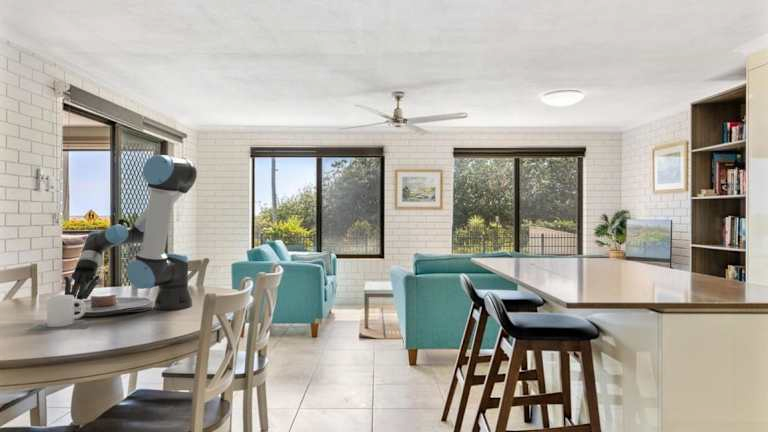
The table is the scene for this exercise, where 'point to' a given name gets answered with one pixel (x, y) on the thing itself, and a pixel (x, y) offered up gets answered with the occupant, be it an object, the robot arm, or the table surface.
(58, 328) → the t mat
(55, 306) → the mug
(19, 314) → the table surface
